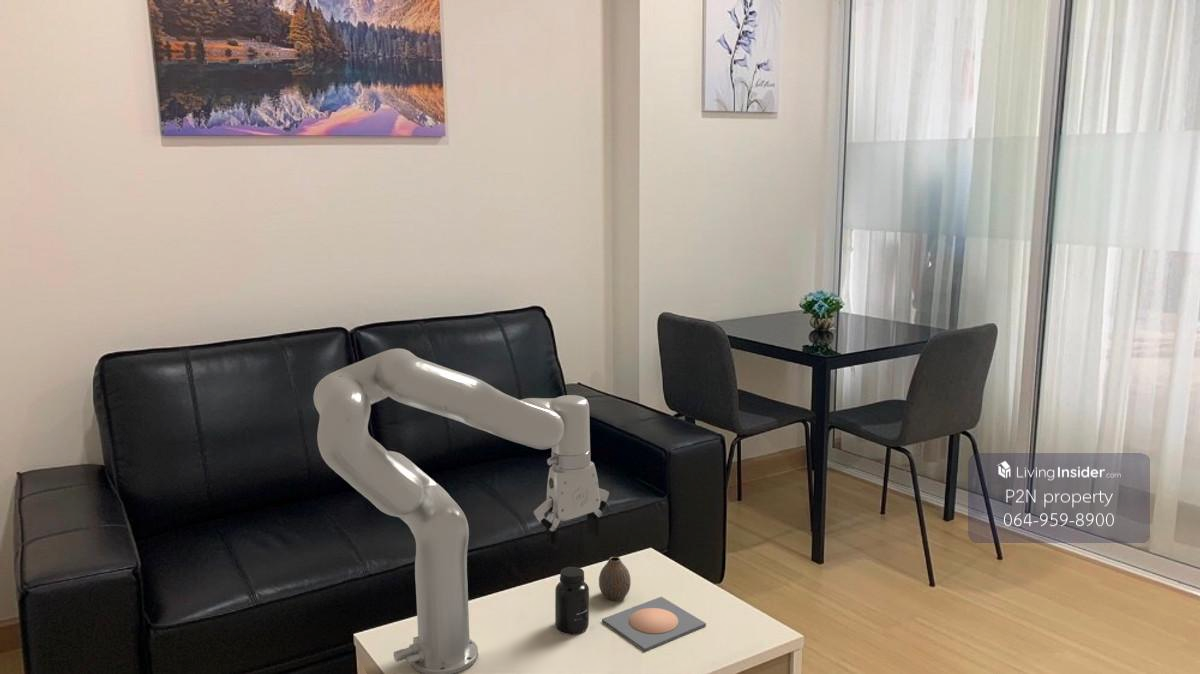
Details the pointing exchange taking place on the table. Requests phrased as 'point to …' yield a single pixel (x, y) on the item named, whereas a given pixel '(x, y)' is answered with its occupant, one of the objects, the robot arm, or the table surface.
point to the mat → (653, 623)
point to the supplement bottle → (572, 602)
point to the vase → (614, 580)
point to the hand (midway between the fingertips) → (573, 540)
